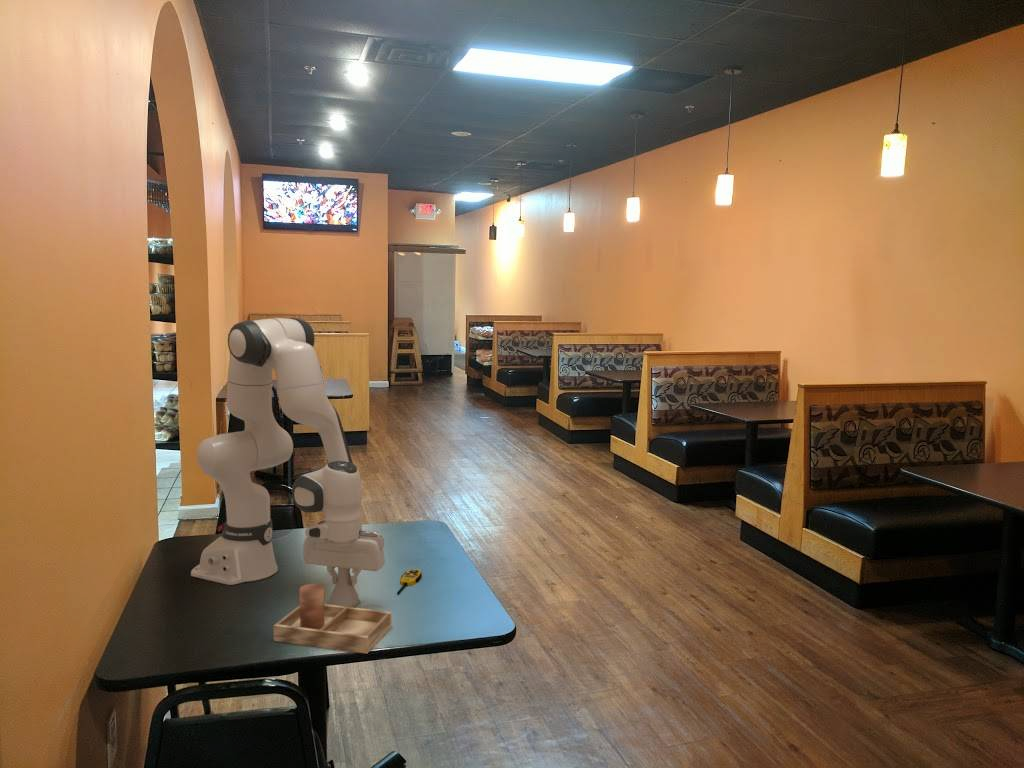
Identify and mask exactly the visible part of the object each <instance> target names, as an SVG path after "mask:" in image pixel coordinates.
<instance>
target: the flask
mask: <svg viewBox="0 0 1024 768" xmlns="http://www.w3.org/2000/svg"><path fill="white" fill-rule="evenodd" d="M336 568H337V575H338V578H337V582H336V584H335V585H334V588H333V591H332V592H331V593H332V594H331V596H330V599H329V600H328V601H329V602H328V604H329V605H337V606H345V607H353V608H356V607H357V606H358V605H359V604H360V603H361V602H362V601H361V599H360V597H359V595H358V594H359V593H358V592H357V590H356V588H355V586H350V585H348V583H349V582H348V579H349V578H350V577H351V576H352V575H351V569H349V568H340V567H336Z"/></svg>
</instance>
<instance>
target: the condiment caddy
mask: <svg viewBox="0 0 1024 768" xmlns="http://www.w3.org/2000/svg"><path fill="white" fill-rule="evenodd" d="M324 593H325V587H324V585H323V584H321V583H309V584H304V585H302V586H301V587H299V605H298V606H297V607H296V608H294V609H293V610H292V611H290V612H289V613H288V614H286V615H285V616H284V617H282V618H281V619H280V620H278V621H277V622H276V623H275V624H273V625H272V627H273V641H274V642H279V643H287V644H294V645H301V646H302V645H303V646H307V647H308V646H309V647H317V648H323V649H330V650H337V651H338V650H339V651H343V652H345V651H346V652H351V653H352V652H353V653H359V654H366V655H367V654H368V653H369V652H370V651H371V650H372V649H373V648H374V647H375V646H376V645H377V644H378V642H379V641H380V640H382V638H383V637H384V636H385V635H386V634H387V633H388V631H390V630H391V628H392V627H393V625H392V624H393V620H392V618H393V617H392V614H393V612H392V611H387V610H386V611H384V610H376V609H368V608H360V607H345V606H337V605H329V603H327V604H326V603H325V594H324Z"/></svg>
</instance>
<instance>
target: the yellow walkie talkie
mask: <svg viewBox="0 0 1024 768" xmlns="http://www.w3.org/2000/svg"><path fill="white" fill-rule="evenodd" d="M422 573H423V572H422V570H421V569H419V568H411V569H409V570H408V571H405V572H404V573H403V574H402V575H401V577H400V582H399V584H400V586H401V587H400V588H399V590H397V592H396V594H397V595H399V594H400V593H401V592H402V591H403V589H404V588H405V587H412V586H414V585H416V584H417V583H419V582H420V581H421V579H422V575H423V574H422Z"/></svg>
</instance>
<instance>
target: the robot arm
mask: <svg viewBox="0 0 1024 768" xmlns="http://www.w3.org/2000/svg"><path fill="white" fill-rule="evenodd" d="M314 345H315V333H314V330H313V328H312V326H311V324H310V323H309V322H308V321H306V320H304V319H301V318H295V317H290V318H284V317H269V318H262V319H261V318H260V319H255V320H251V319H249V320H244V321H240V322H237V323H235V324H234V325H232V327H231V328H230V330H229V332H228V337H227V346H228V350H229V353H230V356H229V360H228V361H229V362H228V369H227V383H226V384H227V385H226V409H227V410H228V412H229V413H230V414H231V415H232V416H233V417H235V418H237V419H240V420H242V421H243V422H244V430H242V431H234V432H226V433H221V434H217V435H214V436H210V437H207V438H206V439H203V440H202V441H201V442H200V444H199V445H198V448H197V450H196V462H197V465H198V468H199V469H200V470H201V472H203V473H204V474H205V475H207V476H209V477H210V478H212V479H213V480H214V481H215V482H216V483H217V484H218V485H219V487H220V488H221V491H222V493H223V496H224V501H225V502H224V503H225V511H226V522H223V524H221V525H219V526H217V528H218V529H217V531H218V532H219V531H222V532H221V534H220V536H219V537H217V539H214V540H213V542H211V543H209V544H208V545H207V546H206V547H205V548H204V549H203V550H202V553H200V554H201V555H200V559H199V560H200V561H199V564H197V565H196V566H194V567H193V568H192V569H191V571H190V576H191V577H194V578H199V579H201V580H202V579H203V580H206V581H211V582H215V583H219V584H224V585H228V586H231V585H237V584H241V583H245V582H253V581H259V580H263V579H266V578H269V577H271V576H272V575H274V574H276V573H277V572H278V570H279V567H278V564H277V561H276V558H275V557H276V556H275V554H274V553H275V552H274V547H273V519H272V518H271V499H270V497H271V496H270V494H269V491H268V489H267V488H266V487H264V486H263V485H261V484H258V483H255V482H253V481H252V479H251V472H253V471H259V470H263V469H264V470H265V469H270V468H274V467H277V466H279V465H282V464H284V463H286V462H287V461H289V460H290V459H291V457H292V455H293V451H294V442H293V439H292V437H291V435H290V434H289V432H288V431H286V430H285V429H284V428H283V427H281V426H280V424H279V423H278V422H277V421H276V418H275V416H274V412H273V402H272V401H273V397H272V395H273V394H272V392H273V371H274V374H275V378H276V379H275V380H276V388H277V396H278V402H279V406H280V408H281V411H282V413H283V414H284V415H285V416H286V417H287V418H288V419H290V420H291V421H293V422H295V423H298V424H299V425H304V426H307V427H311V428H313V429H314V430H315V431H317V433H318V435H319V436H320V438H321V442H322V444H323V445H322V446H323V449H324V452H325V456H326V460H327V464H326V465H325V466H324V467H322V468H320V469H318V470H314V471H311V472H308V473H307V472H306V473H304V474H302V475H299V476H298V477H297V478H296V479H295V481H294V482H293V485H292V487H291V496H292V500H293V503H294V505H295V506H296V508H298V509H299V510H300V511H302V512H303V513H304V512H305V513H320V512H321V513H323V514H324V517H323V518H324V519H322V520H318V521H317V522H314V523H313V524H311V525H310V526H308V527H307V528H306V529H305V532H304V533H305V538H304V541H303V548H302V559H303V561H304V563H305V564H306V565H313V566H322V567H323V566H324V567H326V571H327V573H328V575H329V576H330V577H331V584H333V585H334V584H335V585H336V582H337V578H338V572H337V571H336V568H337V567H340V568H349V569H350V570H351V571H352V572H351V573H353V575H351V577H350V578H349V579H348V582H349V583H348V585H350V586H354V587H355V586H357V584H358V577H359V575H360V574H361V572H362V571H368V572H379V571H380V570H381V569H382V568H383V567H384V566H385V561H386V558H385V550H384V547H385V546H384V545H385V540H384V537H383V536H382V535H381V534H379V533H378V531H369V530H363V515H362V511H361V503H362V499H363V498H362V497H363V496H362V482H361V481H362V479H361V475H360V471H359V468H358V467H357V466H356V465H355V464H354V463H353V460H352V456H351V453H350V449H349V446H348V442H347V439H346V435H345V431H344V428H343V425H342V421H341V417H340V414H339V413H338V411H337V409H336V407H335V406H334V405H332V403H331V402H330V400H329V398H328V396H327V393H326V389H325V384H324V383H325V382H324V377H323V372H322V368H321V364H320V361H319V358H318V355H317V352H316V350H315V348H314Z"/></svg>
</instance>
